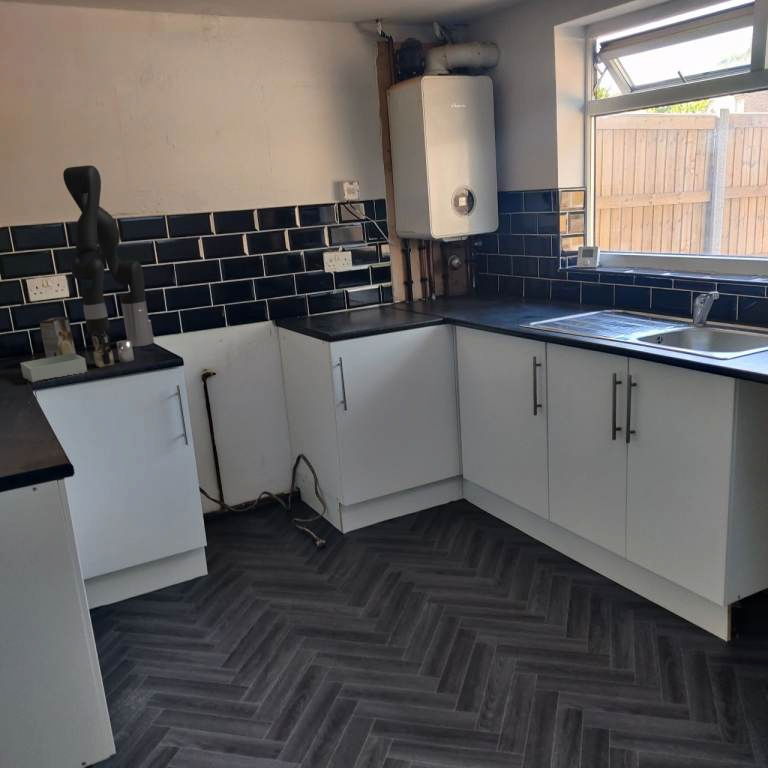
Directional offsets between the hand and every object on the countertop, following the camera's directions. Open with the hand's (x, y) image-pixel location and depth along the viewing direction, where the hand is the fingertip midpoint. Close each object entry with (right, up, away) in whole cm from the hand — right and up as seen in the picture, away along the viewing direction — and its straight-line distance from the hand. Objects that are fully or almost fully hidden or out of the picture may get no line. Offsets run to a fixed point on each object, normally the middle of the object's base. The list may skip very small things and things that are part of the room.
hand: (104, 362), depth 259 cm
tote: (-13, -4, -10) cm, 17 cm away
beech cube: (0, -1, 0) cm, 1 cm away
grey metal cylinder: (+6, +1, +5) cm, 8 cm away
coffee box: (-20, +1, +11) cm, 23 cm away
